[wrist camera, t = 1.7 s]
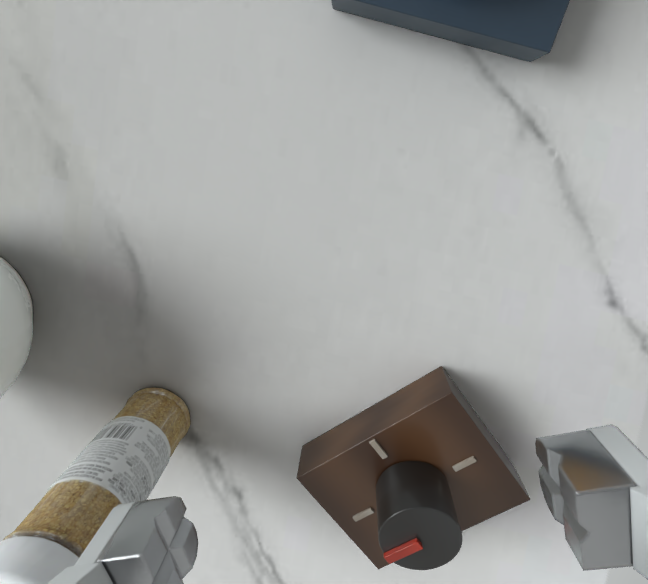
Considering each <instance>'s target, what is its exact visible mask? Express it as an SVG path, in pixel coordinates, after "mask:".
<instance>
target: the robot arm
mask: <svg viewBox="0 0 648 584" xmlns="http://www.w3.org/2000/svg"><path fill="white" fill-rule="evenodd" d="M535 445H536V454H537V456H538V457H539V459H540V461H541V462H542V464H543V465H542V467H541V468H540V470H539V477H540V484H541V487H542V491H543V494H544V498H545V500H546V502H547V505H548V507H549V509H550V511H551V513H552V515H553V517H554V519H555V520H557V521H558V522H560V523H561V524H563V525H564V529H565V537H566V540H567V542H568V544H569V546H570V548H571V549H572V551H573V553H574V555H575V556H576V558H577V560H578V562H579V564H580V565H581V567H582V569H583V571H584V570H595V569H607V568H618V567H628V566H633V569H634V570H636V571H637V572H638V573H640V574H641V575H643V576H644V577H645V578H646V579H648V458H647V457H646V456H645V455H644V454H643V453H642V452H641V451H640V450H639V449H638V448H637V447H636V446H635V445H634V444H633V443H632V442H631V441H630V440H629V439H628V438H627V436H626V435H625V434H624V433H623V432H622V431H621V430H620V429H619V428H618V427H616V426H614V425H606V426H601V427H595V428H590V429H586V430H582V431H576V432H570V433H564V434H558V435H552V436H546V437H540V438H536V443H535ZM185 511H186V507H185V505H184V503H183V501H182V499H181V498H180V497H176V496H173V497H166V498H158V499H151V500H143V501H138V502H131V503H124V504H119V505H118V506H116V507H114V508H113V509H112V511H111V512H110V513H109V515H108V516H107V518H106V519H105V521H104V522H103V524H102V525H101V527H100V528H99V530H98V531H97V533H96V534H95V536H94V537H93V538H92V540H91V541H90V543H89V544H88V546H87V547H86V549H85V550H84V552H83V553H82V555H81V556H80V558H79V559H78V560H77V562H76V563H75V565H74V566H71V567H67V568H66V569H64V570H63V571H62V572H61V573H59V574H58V575H57V576H56V577H54V578H53V579H52V580H50V581H49V582H48V583H47V584H184V583H183V580H182V579H183V578H184V576H185V575H186V574H187V573H188V572H189V571H190V570H191V569H192V568H193V565H194V562H195V560H196V557H197V549H198V538H197V532H196V529H195V527H194V525H193V523H192V522H191V521H189V520H188V519H186V518H185V517H184V514H185Z"/></svg>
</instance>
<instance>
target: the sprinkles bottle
mask: <svg viewBox="0 0 648 584" xmlns="http://www.w3.org/2000/svg"><path fill="white" fill-rule="evenodd" d="M189 426H190V414H189V411H188V408H187V406H186V405H185V403H184V401H182V399H180V398H179V397H178V396H176V395H175V394H174V393H172V392H170V391H168V390H165V389H163V388H145V389H142V390H139V391H137V392H136V393H134V394H133V395H132V397H131V398H129V399H128V401H127V403H126V405H125V407H124V408H123V409H122V410H121V411H120V412H119V413H118V415H117V416H116V417H115V418H114V419H113V420H112V421H110V422H109V423H108V424H107V425H106V426H105V427H104V428H103V429H102V430H101V431H100V432H99V433H98V435H97V436H96V437H95V438H94V439H93V440H92V441H91V442H90V443H89V444H88V446H87V447H86V448H85V449H84V450H83V451H82V452H81V453H80V455H79V456H78V457H77V458H76V459H75V460H74V461H73V462H72V463H71V465H70V466H69V467H68V468H67V469H66V470H65V471H64V472H63V474H62V475H61V476H60V477H59V478H58V479H57V480H56V481H55V483H54V484H53V485H52V486H51V487H50V488H49V490H48V491H47V493H46V495H45V496H44V497H43V498H42V500H41V501H40V502H39V503H38V504H37V505H36V506H35V508H34V509H33V510H32V511H31V512H30V513H29V514H28V516H27V517H26V518H25V519H24V520H23V522H22V523H21V524H20V525H19V526H18V527H17V528H16V530H15V531H14V532H13V533H11V534H10V535H8V536H6V537H5V538H4V540H3V541H1V542H0V584H47V583H48V582H49V581H50V580H52V579H53V578H54V577H56V576H57V575H58V574H59V573H61V572H62V571H63V570H64V569H66V568H67V567H71V566H74V565H75V563H76V562H77V560H78V559H79V558H80V556H81V555H82V553H83V552H84V550H85V549H86V547H87V546H88V544H89V543H90V541H91V540H92V538H93V537H94V536H95V534H96V533H97V531H98V530H99V528H100V527H101V525H102V524H103V522H104V521H105V519H106V518H107V516H108V515H109V513H110V512H111V511H112V509H113V508H114V507H116V506H118V505H119V504H124V503H131V502H138V501H143V500H147V498H148V496H149V495H150V493H151V491H152V489H153V488H154V486H155V484H156V483H157V481H158V479H159V478H160V476H161V474H162V472H163V471H164V469H165V467H166V466H167V464H168V462H169V459H170V457H171V455H172V454H173V452H174V450H175V448H176V447H177V445H178V443H179V442H180V440H181V439H182V438H183V437H184V436H185V435H186V433H187V431H188V429H189Z"/></svg>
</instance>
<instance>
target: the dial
mask: <svg viewBox="0 0 648 584" xmlns="http://www.w3.org/2000/svg"><path fill="white" fill-rule="evenodd" d="M376 505H377V522H378V540H379V545H380V547H381V549H382V551H383V553H384V558H385V560H386V561H387V562H388V563H389V564H391V563H393V562H394V563H396V564H397V565H400V566H402V567H405V568H409V569H414V570H428V569H433V568H437V567H440V566H442V565H444V564H446V563H448V562H449V561H451V560H452V559H453V558H454V557H455V556H456V555H457V553H458V552H459V550H460V548H461V545H462V532H461V528H460V525H459V521H458V517H457V514H456V510H455V506H454V503H453V499H452V496H451V492H450V488H449V485H448V481H447V479H446V477H445V476H444V475H443V473H442V472H441V471H440V470H438V469H437V468H436V467H434V466H432V465H430V464H428V463H425V462H421V461H404V462H400V463H397V464H394V465H392V466H390V467H389V468H387V469H386V470H385V471H384V472H383V473H382V474H381V476H380V477H379V479H378V481H377V484H376Z"/></svg>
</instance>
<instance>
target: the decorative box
mask: <svg viewBox="0 0 648 584" xmlns="http://www.w3.org/2000/svg"><path fill="white" fill-rule="evenodd" d="M32 319H33V305H32V300H31V296H30V294H29V291H28V288H27V287H26V285H25V283H24V281H23V280H22V278H21V277H20V275H19V274H18V273H17V271H16V270H15V269H14V268H13V267H12V266H11V265H10V264H9V263H8V262H6V261H5V260H4V259H3V258H1V257H0V398H1V397H2V396H3V395H4V394H5V393H6V391H7V390H8V389H9V388H10V387H11V386H12V384H13V383H14V382H15V380H16V379H17V377H18V375H19V373H20V372H21V370H22V368H23V366H24V364H25V363H26V361H27V357H28V354H29V351H30V347H31V344H32V336H33V321H32Z"/></svg>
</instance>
